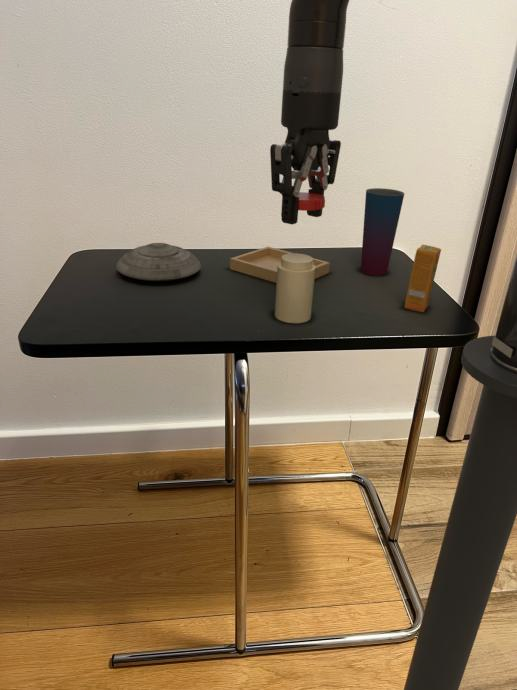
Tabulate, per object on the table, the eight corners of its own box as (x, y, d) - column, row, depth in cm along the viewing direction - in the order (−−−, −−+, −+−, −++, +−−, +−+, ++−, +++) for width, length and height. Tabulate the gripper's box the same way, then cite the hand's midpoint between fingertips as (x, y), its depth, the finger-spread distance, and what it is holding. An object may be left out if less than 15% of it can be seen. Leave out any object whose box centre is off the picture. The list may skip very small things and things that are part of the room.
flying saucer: (189, 258, 107) (188, 230, 104) (211, 283, 94) (211, 252, 92) (111, 263, 102) (108, 235, 99) (123, 291, 89) (121, 259, 87)
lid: (273, 206, 76) (273, 196, 75) (297, 200, 80) (298, 190, 79) (309, 212, 72) (310, 202, 72) (332, 206, 77) (333, 196, 76)
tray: (328, 273, 102) (329, 262, 101) (293, 288, 94) (294, 276, 93) (267, 256, 110) (267, 246, 109) (229, 269, 102) (230, 258, 101)
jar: (316, 314, 84) (322, 256, 80) (301, 326, 79) (306, 266, 75) (284, 306, 86) (288, 250, 82) (268, 317, 82) (271, 259, 78)
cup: (353, 274, 102) (363, 192, 96) (358, 264, 108) (368, 186, 101) (389, 279, 100) (402, 196, 94) (393, 268, 106) (406, 190, 100)
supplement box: (425, 313, 86) (437, 252, 82) (403, 308, 87) (414, 248, 83) (429, 307, 89) (441, 247, 84) (409, 302, 90) (419, 243, 86)
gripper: (317, 88, 77) (307, 208, 84) (254, 86, 66) (249, 223, 74) (364, 90, 73) (349, 216, 80) (305, 88, 62) (295, 233, 70)
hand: (301, 219), depth 77 cm, fingers closed on lid, 5 cm apart
